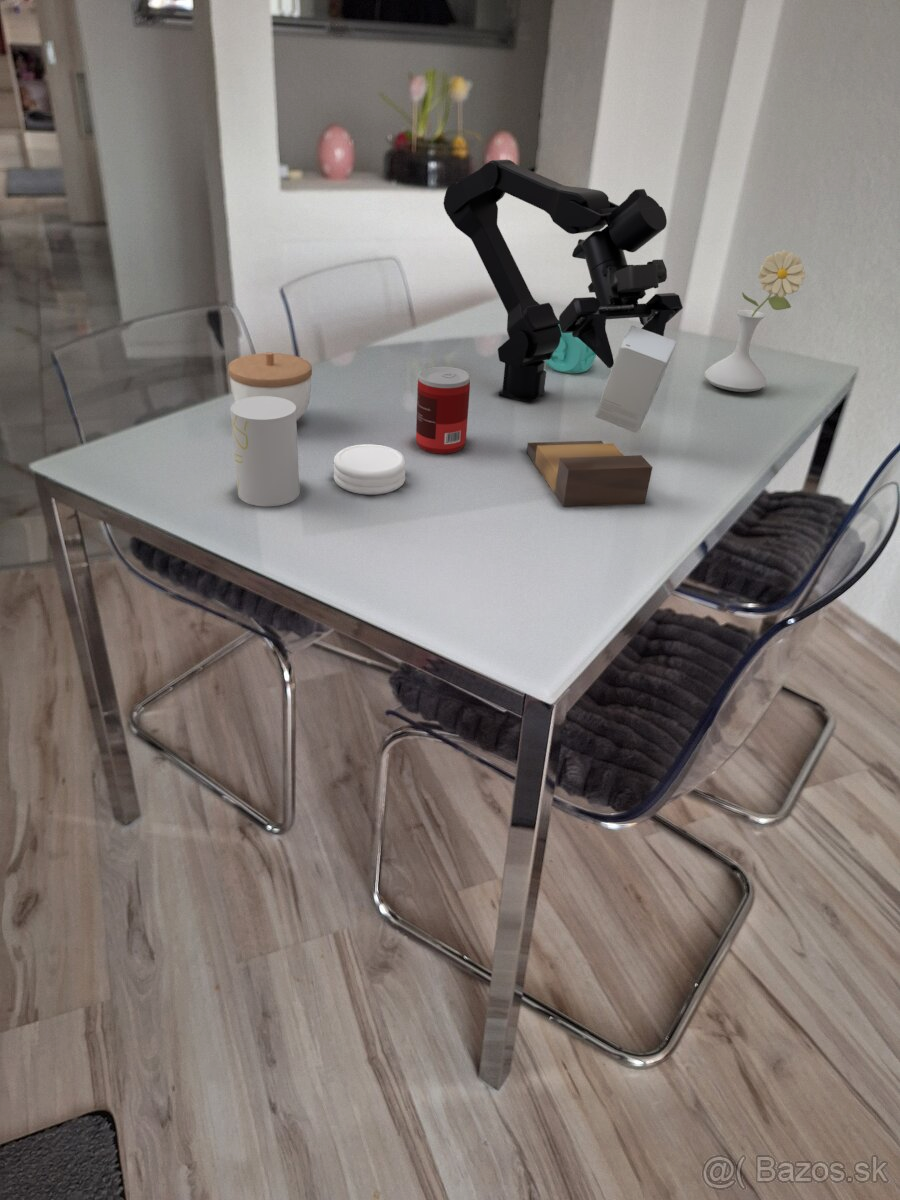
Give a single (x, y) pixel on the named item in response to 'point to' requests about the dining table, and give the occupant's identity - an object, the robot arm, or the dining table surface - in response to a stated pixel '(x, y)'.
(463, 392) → the canned food
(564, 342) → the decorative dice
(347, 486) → the coaster
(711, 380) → the flower in vase
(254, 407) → the cup
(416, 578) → the dining table surface
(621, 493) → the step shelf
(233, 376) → the lidded bowl
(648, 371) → the white packaging box
